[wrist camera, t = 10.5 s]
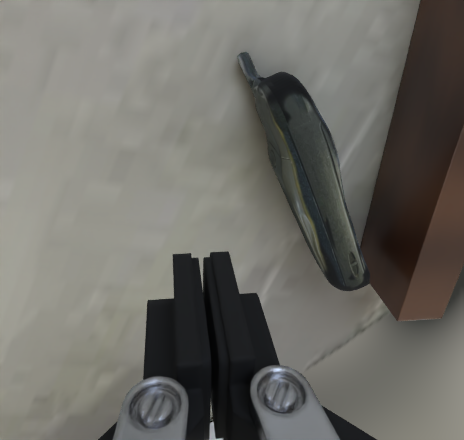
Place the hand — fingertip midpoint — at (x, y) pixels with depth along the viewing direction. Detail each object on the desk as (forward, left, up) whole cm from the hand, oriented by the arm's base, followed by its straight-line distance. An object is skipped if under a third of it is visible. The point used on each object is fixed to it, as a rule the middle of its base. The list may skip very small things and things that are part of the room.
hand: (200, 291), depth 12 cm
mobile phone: (+1, +7, -13) cm, 15 cm away
